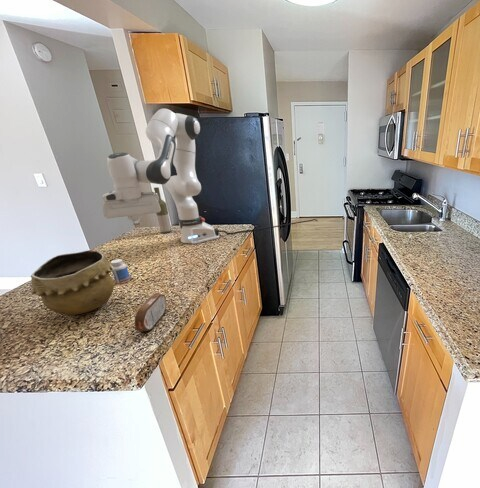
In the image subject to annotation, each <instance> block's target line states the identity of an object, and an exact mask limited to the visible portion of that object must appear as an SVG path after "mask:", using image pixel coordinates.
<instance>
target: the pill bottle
mask: <svg viewBox="0 0 480 488" xmlns="http://www.w3.org/2000/svg"><path fill="white" fill-rule="evenodd" d="M110 265H111V267H112V270H111V274H112V276H113V277H112V278H113V280H114V283H116V284H117V285H120V284H125V283H128V282H130V281H131V276H130V275H131V274H130V272H129V269H128V266H127V264H126V263H124V260H123V259H121V258H118V259H114V260H112V261H110Z"/></svg>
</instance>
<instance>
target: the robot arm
mask: <svg viewBox="0 0 480 488" xmlns="http://www.w3.org/2000/svg"><path fill="white" fill-rule="evenodd" d="M200 132H201V124H200V121H199V119H198V118H196V117H195V116H192V115H187V114H183V113H180V112H179V113H178V112H176V113H175V112H173V111H172V110H171V109H168V108H160V109H158V110H157V111H156V112H155V113H154V114H153V115H152V116H151V118H150V120H149V122H148V124H147V125H146V128H145V135H146V137H147V139H148V140H149V142H151V143H152V144H153V145H155V146H156V147H158V148H159V151H158V155H157V158H155V159H152V160H140V159H138V158H135V157H133V156H131V155H130V153H128V152H115V153H111V154H109V155H108V156H107V158H106V164H107V169H108V173H109V176H110V179H112V182H113V190H111V191H109V192H106V193H104V194H103V195H102V201H103V202H102V205H101V206H102V213H103V217H104V218H106V219H115V218H124V217H127V219H128V220H129V221H130V222H132V225H133V226H140V225H142V222H141V221H142V219H143V215H149V214H156V213H159V212H160V211H161V208H160V205H159V202H158V201H159V196H158V194H157V193H155V191H144V192H142V189H141V185H140V184H155V185H164V186H165V189H166V191H168V192H169V194H170V196H171V198H172V200H173V202H174V205H175V207H176V212H177V216H178V220H177V221H178V225H179V228H180V243H183V244H191V245H197V244H201V243H205V242H209V241H214V240H217V239H219V238H220V237H221V236H220V233H225V234H227V235H236V234H240V233H246V232H247V233H248V232H255V231H262V230H267V229H268V230H269V229H273V228H280V227H285V226H291V225H295V224H296V225H297V224H302V223H307V222H308V223H309V222H313V221H316V222H319V220H318V219H317V218H313V219H307V220H301V221H296V222H289V223H284V224H278V225H273V226H267V227H260V228H254V229H247V230H239V231H234V232H228V231H226V230H222V229H221V230H219V229H218V227H215V228H214V227H213V226H212V225H211V224H209V223H207V222H205V221H206V219H205V218H204V217H203V216H201V215H199V214H200V213H199V208H198V204H197V202H196V201H195V200H194V198H193V197H195V196H197V195H199V194H200V193H201V191H202V185H201V182H200V181H199V179H198V176H197V172H196V138H197V137H198V136H199V135H200ZM172 165H173V166H174V168H175V170H176V175H172V167H173V166H172ZM134 216H137V217H138V220H137V219H136V220H134V218H133V217H134Z"/></svg>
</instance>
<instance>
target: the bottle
mask: <svg viewBox="0 0 480 488" xmlns="http://www.w3.org/2000/svg"><path fill="white" fill-rule="evenodd" d="M153 190H154V194H155V193H157V194H158V196H159V201H158V202H159V205H160V208H161V211H160V212H159V213H155V215H156V218H157V222H158V225H159V229H160V232H161V234H167V233H171V232H172V225H171V220H170V215H169V211H168V210H169V209H168V206H167V205H168V204H167V202H166V201H164V200H163V199H162V196H161V192H160V187H153Z"/></svg>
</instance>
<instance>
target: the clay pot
mask: <svg viewBox="0 0 480 488" xmlns="http://www.w3.org/2000/svg"><path fill="white" fill-rule="evenodd" d="M111 270H112V265H111V263H109V261H108V260H107V258H106V256H105V254H104V253H102V252H101V251H99V250H94V249H90V250H89V249H87V250H83V251H79V252H72V253H63V254H58V255H55V256H53V257H52V258H50V259H48V260H47V261H46V262H44V263H43V264H42V265H40V266H39V267H38V268H37V269H36V270H35V271H34V272H33V273H32V274H31V275H30V278H31V285H32V286H31V287H32V288H31V289H32V290H30V293H31V294H32V295H37V297H40V298H41V302H42V304H43V306H44V307H46V308H47V309H48V310H50V311H51V312H54V313H57V314H61V315H66V316H73V315H74V316H75V315H82V314H86V313H89V312H92V311H94V310H97V309H98V308H100V307H102V306H103V305H104V304H105V303H107V302H108V301H109V299H110V298H111V296H112V295H113V292H114V289H115V281H114V278H113V277H112V276H111V273H112V271H111Z"/></svg>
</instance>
